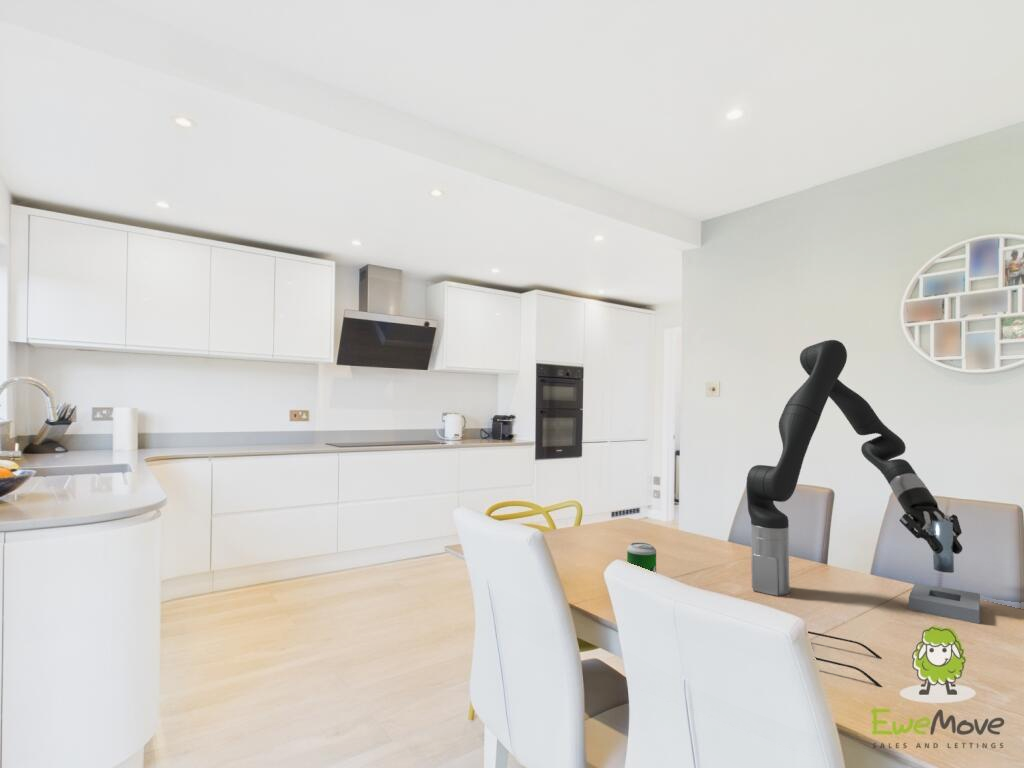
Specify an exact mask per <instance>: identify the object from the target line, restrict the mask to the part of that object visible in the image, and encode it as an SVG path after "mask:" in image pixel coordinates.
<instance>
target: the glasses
mask: <svg viewBox="0 0 1024 768" xmlns="http://www.w3.org/2000/svg"><path fill="white" fill-rule="evenodd" d="M807 631H808V633H807V634H809V635H810V634H811V635H815V636H820V637H825V638H829V639H833V640H834V639H835V640H840V641H843V642H848V643H853V644H856V645H857V644H858V645H859V646H861V647H863V648H864V649H866V650H867V651H868V652H870V653H871V654H872V655H873V656H875V657H876V658H877V659H879V660H881V659H883V658H882V657H881V656H880V655H879V654H877V653H876V652H875V651H873V650H872V649H870V647H868V646H867V645H865V644H863V643H861V642H860V641H859V642H858V641H856V640H851V639H847V638H841V637H837V636H831V635H828V634H823V633H818V632H815V631H809V630H807ZM814 657H815V658H816V661H819V662H820V661H821V662H824V663H827V664H828V663H830V664H833V665H838V666H842V667H845V668H849V669H850V668H851V669H854V670H856V671H859V672H860V673H861V674H863V675H864V676H865V677H866V678H867V679H868V680H870V681H871V682H872V683H873V684H874V685H875V686H877V687H879V688H882V687H883V686H882V685H881V683H879V682H877V680H876V679H874V678H873V677H872V676H870V674H868V673H867V672H865V671H864V670H863V669H861V668H859V667H857V666H854V665H849V664H846V663H845V664H844V663H841V662H837V661H832V660H828V659H824V658H820V657H816V656H814Z"/></svg>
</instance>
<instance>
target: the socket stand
mask: <svg viewBox="0 0 1024 768" xmlns="http://www.w3.org/2000/svg"><path fill="white" fill-rule="evenodd" d="M908 610H909V611H914V612H918V613H919V612H920V613H923V614H928V615H933V616H939V617H943V618H948V619H954V620H960V621H964V622H969V623H972V624H978V625H979V624H980V622H981V621H980V620H981V594H980V593H978V592H974V591H973V592H972V591H967V590H966V591H965V590H961V589H960V590H959V589H957V588H956V589H954V588H950V587H949V588H948V587H944V586H936V585H931V584H927V583H920V582H915V583H914V584H913V587H912V589H911V591H910V593H909V595H908Z"/></svg>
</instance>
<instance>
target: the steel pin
mask: <svg viewBox="0 0 1024 768" xmlns="http://www.w3.org/2000/svg"><path fill="white" fill-rule="evenodd" d="M932 531H933V536H935V537H936V538H937V540H938V541H939V543H940V544H941V546H942V548H943V551H942V552H941V553H940V554H939V553H935V551H933V550H932V561H933V563H932V565H933V567H932V568H933V570H934V571H937V572H940V573H948V574H949V573H950V574H953V573H954V572H955V562H954V561H955V559H954V557H955V555H954V554H955V553H954V552H953V524H952V522H950V521H944V520H932Z"/></svg>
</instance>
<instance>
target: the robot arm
mask: <svg viewBox="0 0 1024 768" xmlns="http://www.w3.org/2000/svg"><path fill="white" fill-rule="evenodd" d="M847 359H848V352H847V349H846V346H845V344H843V342H841V341H839V340H836V339H829V340H824V341H820V342H817V343H815V344H812V345H810V346H807V347H805V348H804V349H802V350H801V352H800V355H799V362H800V365H801V367H802V368H803V370H804V372H806V374H807V376H808V378H807V379H806V381H805V382H804V383H803V384H801V386H800V387H799V388H798V389H797V390H796V391H795V392H794V393H793V394H792V396H791V397H790V398H789V399H788V401H787V402H786V403H785V406H784V409H783V410H782V413H781V415H780V418H779V420H778V431H779V435H780V438H781V443H782V452H781V455H780V458H779V461H778V462H777V464H776V466H774V465H767V464H766V465H763V464H757V465H753V466H752V467H750V470H749V471H748V473H747V475H746V485H745V486H746V499H747V500H746V501H747V511H748V514H749V515H748V516H749V518H750V529H751V530H750V532H751V533H750V534H751V535H750V536H751V537H750V540H751V541H750V543H751V544H750V547H751V548H750V550H751V551H750V552H751V558H750V559H751V588H752V591H753V592H754V591H755V592H758V593H762V594H766V595H767V594H768V595H772V596H777V597H778V596H782V595H783V596H785V595H788V594H790V590H791V589H790V588H791V587H790V548H789V547H790V545H789V544H790V542H789V541H790V538H789V534H790V533H789V531H790V530H789V529H790V528H789V527H790V526H789V517H788V516H787V514H785V513H784V512H782V511H781V510H779V509H778V508H777V507H776V505H775V504H774V502H778V503H779V502H780V503H781V502H782V503H783V502H784V503H785V502H787V501H789V500H790V499H791V497H792V496H793V495H794V492H795V490H796V489H797V488H796V487H797V484H798V481H799V477H800V473H801V469H802V467H803V463H804V459H805V457H806V454H807V452H808V451H807V450H808V448H809V444H810V442H811V440H812V438H813V435H814V433H815V431H816V429H817V426H818V424H819V421H820V419H821V415H822V413H823V410H824V408H825V407H826V404H827V401H828V399H831V400H832V402H833V403H834V404H835V405H836V406H837V407H838V409H839V410H840V411H841V412H842V414H843V415H844V417H845V418H846V419H847V421H848V423H849V424H850V425H851V426H850V427H852V429H853V430H854V431H855V432H856V434H857V435H859V436H868V435H873V434H879V436H876V437H874V438H872V439H870V440H867V441H865V442H864V443H862V445H861V449H860V450H861V454H862V455H863V457H864V458H865V459H866V460H867V461H868V462H869V463H871V465H873V466H874V467H876V469H877V470H879V471H880V473H881V474H882V475H883V477H884V478H885V480H886V481H887V483H888V485H889V486H890V489H891V490H892V492H893V495H894V497H895V498H896V500H897V502H898V503H899V504H900V507H902V509H903V511H904V513H903V515H902V516H901V518H900V519H899V522H900V523H901V524H902V525H903V526H904V527H905V528H906V529H907V530H908V531H909V532H910V533H911V534H912V535H913V536H914V537H915V538H916V539H923V540H924V541H926V542H927V544H928V545H929V547H930V549H931V550H932V552H933V551H935V553H939V554H940V553H941V552H942V551H943V548H942V546H941V544H940V543H939V541H938V540H937V538H936V537H935V536H933V531H932V520H944V521H950V522H952V524H953V553H954V554H956V555H959V554H960V553H961V552H962V551H963V545H962V544H961V543H960V541H959V539H958V538H959V536H960V535H962V534H963V533H962V532H963V531H962V529H961V525H960V521H959V518H958V516H957V515H956V514H952V515H947V514H945V513H944V512H943V511H942V510H941V509H939V506H938V505H939V504H938V502H937V501H936V499H935V497H934V496H933V494H932V493H931V491H930V490H929V489H928V486H926V484H925V483H924V482H923V480H922V479H921V478H920V477H919V475H918V474H917V473H916V471H915V470H914V468H913V467H912V465H911V464H910V463H909V461H907V459H903V458H897V457H899V456H902V455H904V454H905V452H906V443H905V442H904V441H903V439H902V438H901V437H900V436H898V435H897V434H896V433H895V432H893V431H892V430H891V429H890V428H889V427H888V426H886V425H885V423H884V422H883V421H882V420H881V419H880V418H879V416H878V415H877V413H876V412H875V410H874V409H873V407H872V406H871V405H870V403H869V402H868V401H867V400H866V399H865V398H864V397H862V396H861V394H858V393H857V392H856V391H854V390H853V389H851V388H849V387H848V386H847V385H846V384H844V383H843V382H842V381H841V380H840V379H839V377H840V375H841V374H842V372H843V370H844V368H845V366H846V364H847ZM894 458H896V459H894Z"/></svg>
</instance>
